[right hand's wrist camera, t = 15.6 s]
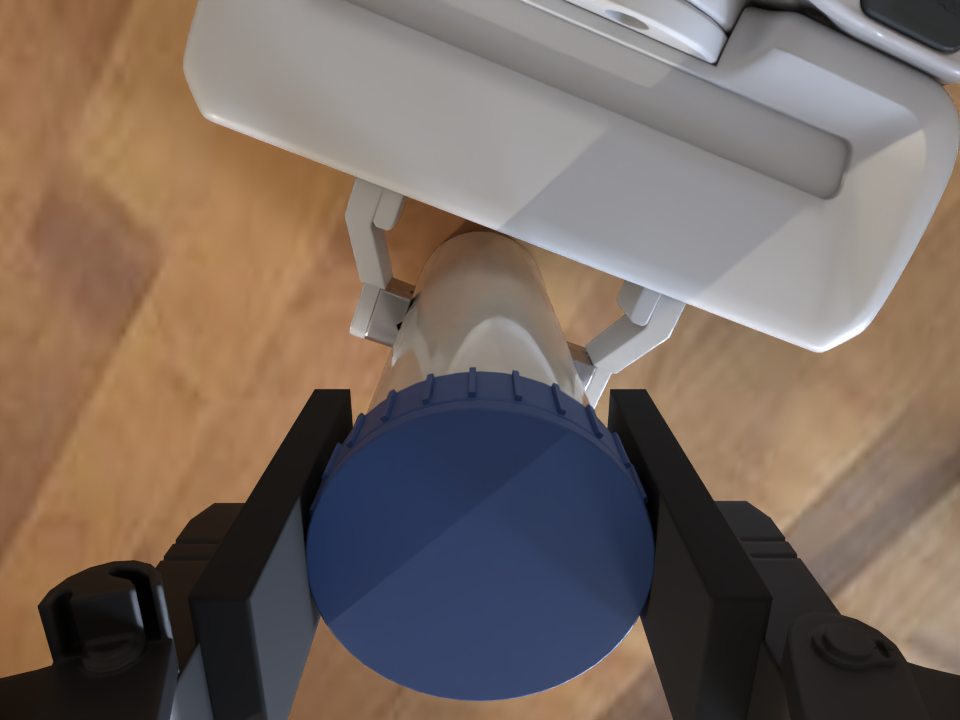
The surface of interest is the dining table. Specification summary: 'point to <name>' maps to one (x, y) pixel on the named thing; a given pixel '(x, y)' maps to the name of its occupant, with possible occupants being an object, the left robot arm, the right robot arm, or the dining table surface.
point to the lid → (480, 538)
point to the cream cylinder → (480, 319)
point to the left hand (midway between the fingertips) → (471, 371)
